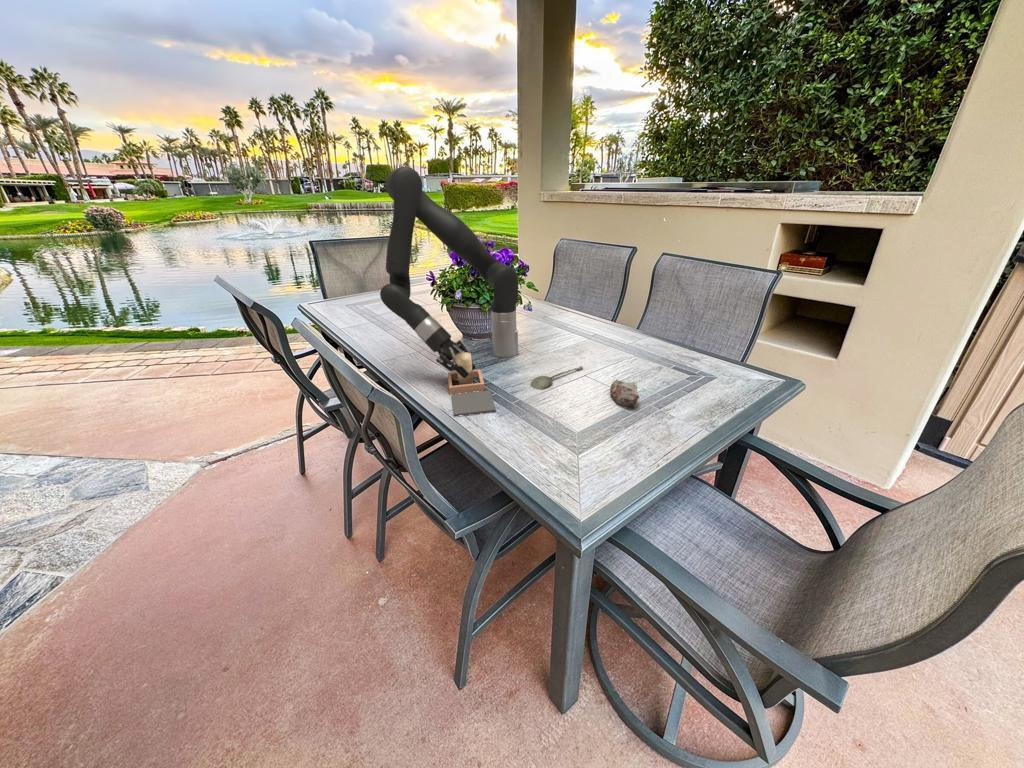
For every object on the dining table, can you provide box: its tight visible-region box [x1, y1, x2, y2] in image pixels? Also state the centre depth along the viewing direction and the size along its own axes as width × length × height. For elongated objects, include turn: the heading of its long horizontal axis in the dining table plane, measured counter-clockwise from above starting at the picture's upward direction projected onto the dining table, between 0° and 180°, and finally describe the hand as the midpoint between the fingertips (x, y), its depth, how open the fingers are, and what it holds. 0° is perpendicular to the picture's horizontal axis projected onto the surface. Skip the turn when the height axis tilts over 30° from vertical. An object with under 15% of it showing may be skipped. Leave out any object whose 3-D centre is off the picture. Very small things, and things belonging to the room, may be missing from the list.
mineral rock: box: [609, 379, 640, 408], centre depth 118 cm, size 15×8×4 cm, turn 168°
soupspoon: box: [530, 365, 584, 391], centre depth 131 cm, size 22×3×7 cm
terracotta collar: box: [447, 368, 486, 395], centre depth 128 cm, size 11×11×2 cm
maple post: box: [456, 351, 474, 385], centre depth 126 cm, size 5×5×10 cm
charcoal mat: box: [451, 390, 497, 417], centre depth 117 cm, size 12×12×1 cm
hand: (470, 372), depth 126 cm, fingers closed on maple post, 4 cm apart
